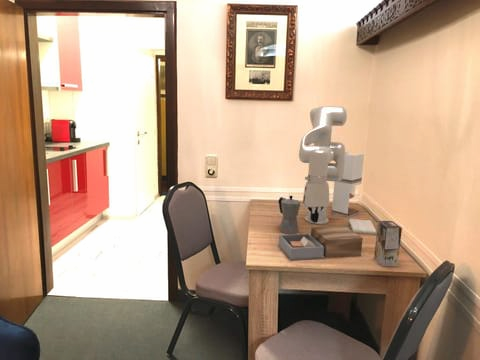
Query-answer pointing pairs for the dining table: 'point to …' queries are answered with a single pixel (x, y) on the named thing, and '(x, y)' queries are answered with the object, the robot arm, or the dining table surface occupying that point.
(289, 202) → the coffeepot
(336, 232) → the block
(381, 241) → the coffee box
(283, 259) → the dining table surface
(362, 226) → the washcloth
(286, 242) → the box
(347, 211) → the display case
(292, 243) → the tile
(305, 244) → the tile
